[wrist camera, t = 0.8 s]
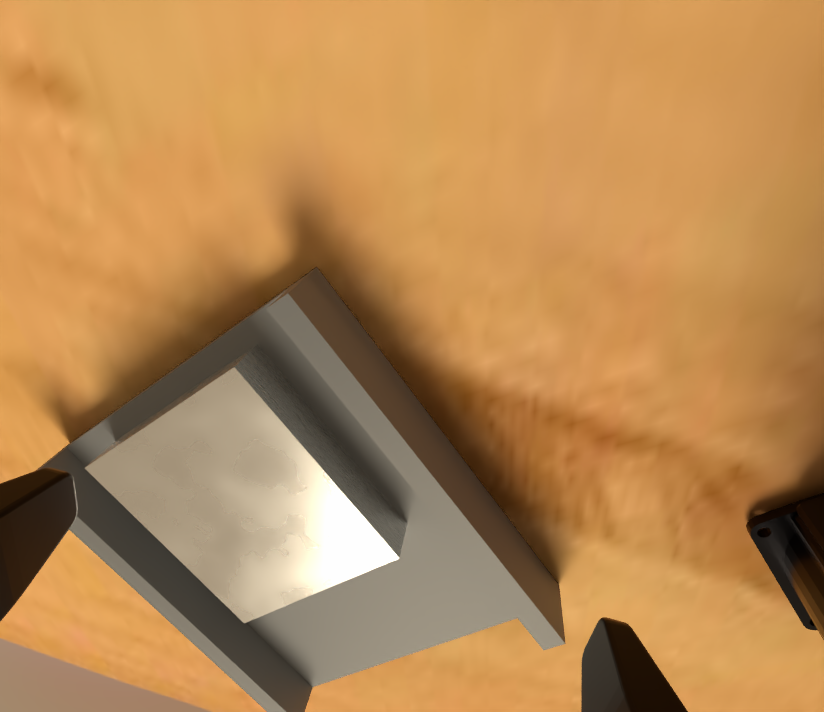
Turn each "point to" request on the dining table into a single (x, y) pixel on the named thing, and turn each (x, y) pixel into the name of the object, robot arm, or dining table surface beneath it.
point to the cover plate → (252, 490)
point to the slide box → (388, 469)
